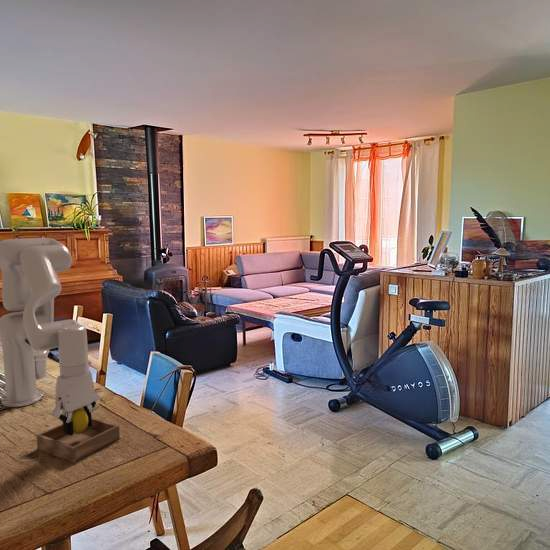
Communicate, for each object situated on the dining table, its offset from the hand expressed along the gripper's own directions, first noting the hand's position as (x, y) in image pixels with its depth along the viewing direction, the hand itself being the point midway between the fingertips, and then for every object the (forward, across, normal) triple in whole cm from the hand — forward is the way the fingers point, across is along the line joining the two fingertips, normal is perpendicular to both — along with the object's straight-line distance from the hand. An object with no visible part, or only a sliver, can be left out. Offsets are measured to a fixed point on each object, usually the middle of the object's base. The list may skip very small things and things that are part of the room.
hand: (78, 429), depth 137 cm
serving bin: (+4, 0, 0) cm, 4 cm away
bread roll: (+5, -18, -20) cm, 27 cm away
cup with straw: (+5, -30, -63) cm, 70 cm away
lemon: (+2, 0, 0) cm, 2 cm away
